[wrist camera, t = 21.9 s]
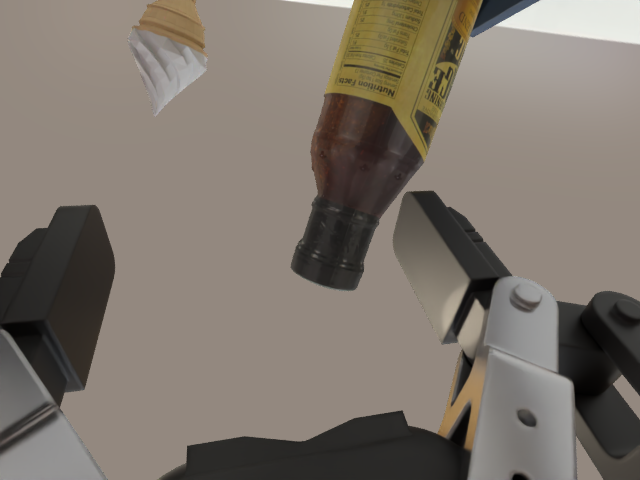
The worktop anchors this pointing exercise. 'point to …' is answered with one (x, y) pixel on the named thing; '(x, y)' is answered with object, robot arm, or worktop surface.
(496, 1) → the slate tray
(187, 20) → the ice cream cone
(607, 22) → the worktop surface
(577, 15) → the worktop surface
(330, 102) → the sauce bottle
